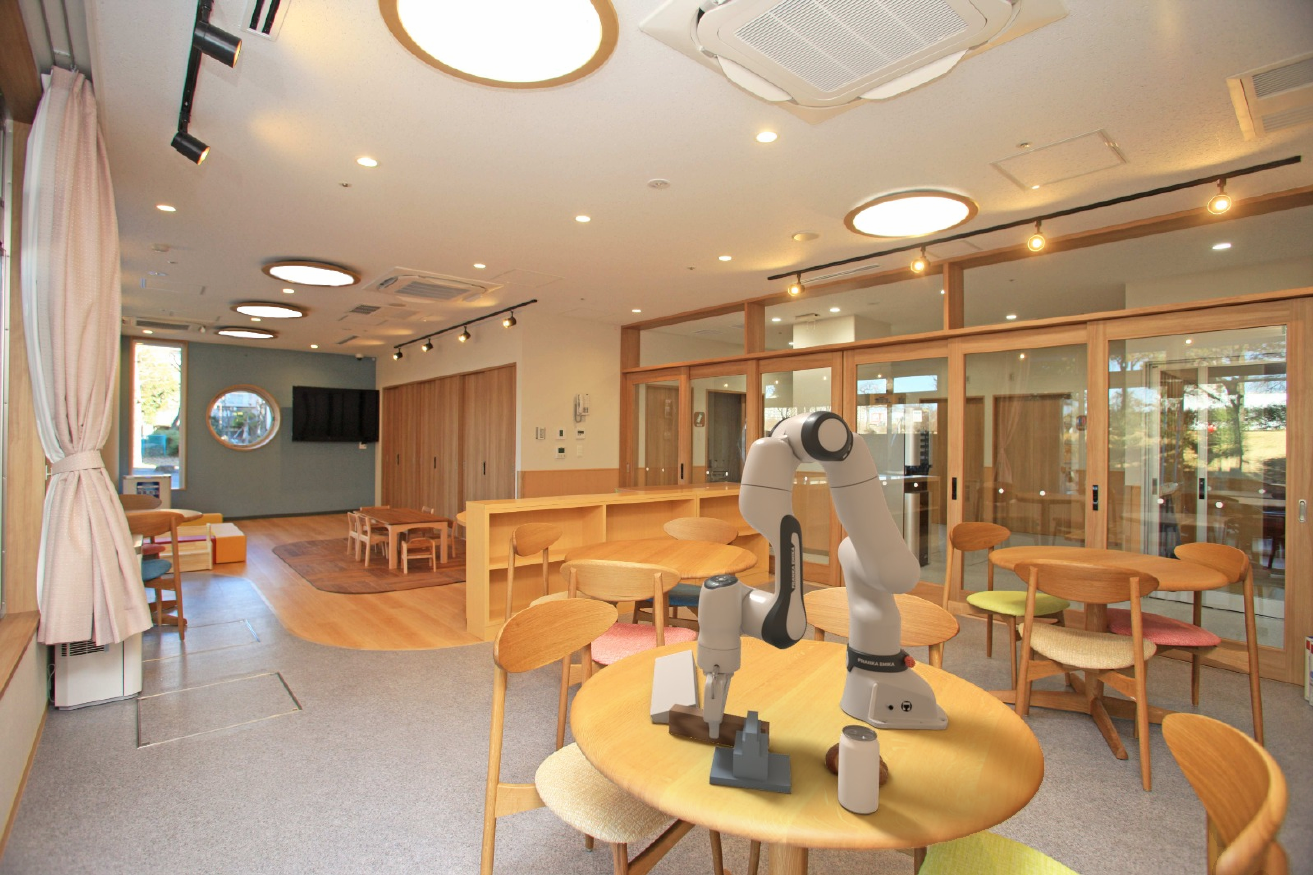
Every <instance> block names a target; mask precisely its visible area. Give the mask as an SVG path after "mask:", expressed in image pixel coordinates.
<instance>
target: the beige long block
mask: <svg viewBox="0 0 1313 875" xmlns="http://www.w3.org/2000/svg"><path fill="white" fill-rule="evenodd" d="M696 665H697V664H696V661H695V657H694V653H693V649H687V650H683V651H680V652H675V653H672V654H668V655H663V656H659V657H655V661H654V670H653V672H654V673H653V680H652V690H651V699H650V700H651V701H650V711H649V712H650V713H649V716H650V718H651V720H652V722H653V723H654V724H659V723H661V724H669V710H670V709H671V708H672V706H673V705H674V704H680V705H685V706H690V707H695V708H700V703H699V702H700V701H699V691H698V690H699V689H698V678H697V677H698V676H697V667H696Z"/></svg>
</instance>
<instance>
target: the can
mask: <svg viewBox="0 0 1313 875" xmlns="http://www.w3.org/2000/svg"><path fill="white" fill-rule="evenodd" d="M841 731H842V732H841V735H840V736H839V738H838V739H839V742H838V743H839V772H838V781H837V782H838V783H837V785H838V787H837V799H838V802H839V803H840V805H841V806H842V807H843V808H844V809H845V810H847V811H849V812H851V813H854V814H858V815H870V814H873V813H875V812H876V811H877V810H878V808H879V791H880V790H879V789H880V788H879V787H880V786H879V759H880V756H881V754H880V753H881V752H880V751H881V750H880V748H881V747H880V745H881V744H880V741H879V739H878V734H877V732H876V731H875V730H874V729H873V728H870V727H868V726H865V725H861V724H859V725H858V724H850V725H848V724H847V725H845V726H844V727H842V729H841Z"/></svg>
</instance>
